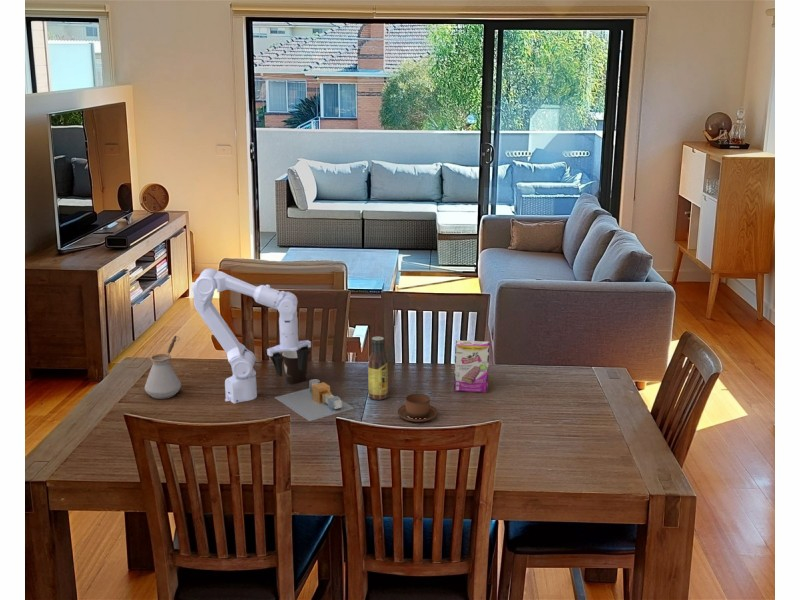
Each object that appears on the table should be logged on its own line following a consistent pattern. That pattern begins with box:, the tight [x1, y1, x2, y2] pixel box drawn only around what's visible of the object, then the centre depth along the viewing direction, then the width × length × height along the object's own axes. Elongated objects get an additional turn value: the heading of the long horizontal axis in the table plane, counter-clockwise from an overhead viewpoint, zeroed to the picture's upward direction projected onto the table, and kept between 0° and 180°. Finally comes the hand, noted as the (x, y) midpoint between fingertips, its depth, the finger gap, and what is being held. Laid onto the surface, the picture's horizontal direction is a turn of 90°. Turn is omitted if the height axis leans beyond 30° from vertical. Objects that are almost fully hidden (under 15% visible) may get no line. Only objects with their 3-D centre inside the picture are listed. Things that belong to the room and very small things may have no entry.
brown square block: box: [312, 382, 331, 404], centre depth 275 cm, size 4×4×5 cm
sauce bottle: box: [367, 335, 389, 401], centre depth 280 cm, size 7×6×20 cm
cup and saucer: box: [397, 393, 438, 423], centre depth 267 cm, size 12×12×6 cm
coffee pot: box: [144, 335, 182, 400], centre depth 287 cm, size 21×12×15 cm, turn 174°
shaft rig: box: [308, 378, 343, 411], centre depth 276 cm, size 6×20×4 cm, turn 36°
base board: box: [274, 387, 355, 422], centre depth 274 cm, size 16×22×2 cm
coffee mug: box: [281, 351, 309, 385], centre depth 295 cm, size 12×9×10 cm
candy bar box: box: [453, 339, 491, 394], centre depth 286 cm, size 11×5×16 cm, turn 84°
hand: (290, 372), depth 277 cm, fingers open, 7 cm apart
